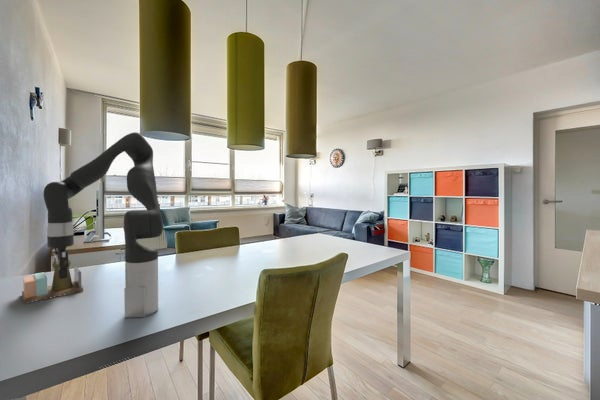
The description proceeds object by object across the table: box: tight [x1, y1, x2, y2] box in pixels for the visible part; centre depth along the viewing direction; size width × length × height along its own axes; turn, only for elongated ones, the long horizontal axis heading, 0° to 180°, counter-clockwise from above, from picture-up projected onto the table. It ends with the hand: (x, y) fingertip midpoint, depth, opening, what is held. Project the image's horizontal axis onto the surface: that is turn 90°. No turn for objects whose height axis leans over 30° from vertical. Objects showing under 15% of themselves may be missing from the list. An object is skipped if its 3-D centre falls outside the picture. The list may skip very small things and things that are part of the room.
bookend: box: [73, 266, 82, 287], centre depth 105 cm, size 1×9×6 cm, turn 48°
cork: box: [51, 259, 73, 291], centre depth 101 cm, size 6×6×11 cm
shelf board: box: [21, 280, 84, 304], centre depth 100 cm, size 16×11×2 cm
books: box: [22, 271, 48, 298], centre depth 96 cm, size 6×9×6 cm, turn 49°
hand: (61, 275), depth 102 cm, fingers open, 8 cm apart
